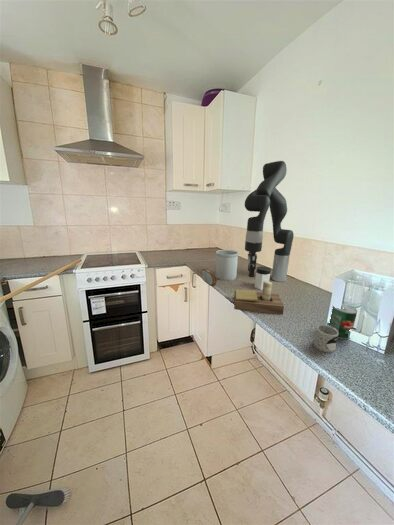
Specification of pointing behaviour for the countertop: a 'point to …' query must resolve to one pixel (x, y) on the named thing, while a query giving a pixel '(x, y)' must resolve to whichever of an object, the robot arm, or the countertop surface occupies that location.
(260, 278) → the jar
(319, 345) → the mug
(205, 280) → the brown oval frame
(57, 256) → the countertop surface
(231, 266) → the utensil holder
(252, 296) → the latch flap
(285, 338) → the countertop surface
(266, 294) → the peg
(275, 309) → the block
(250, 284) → the countertop surface
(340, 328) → the canned tomato
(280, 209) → the robot arm
